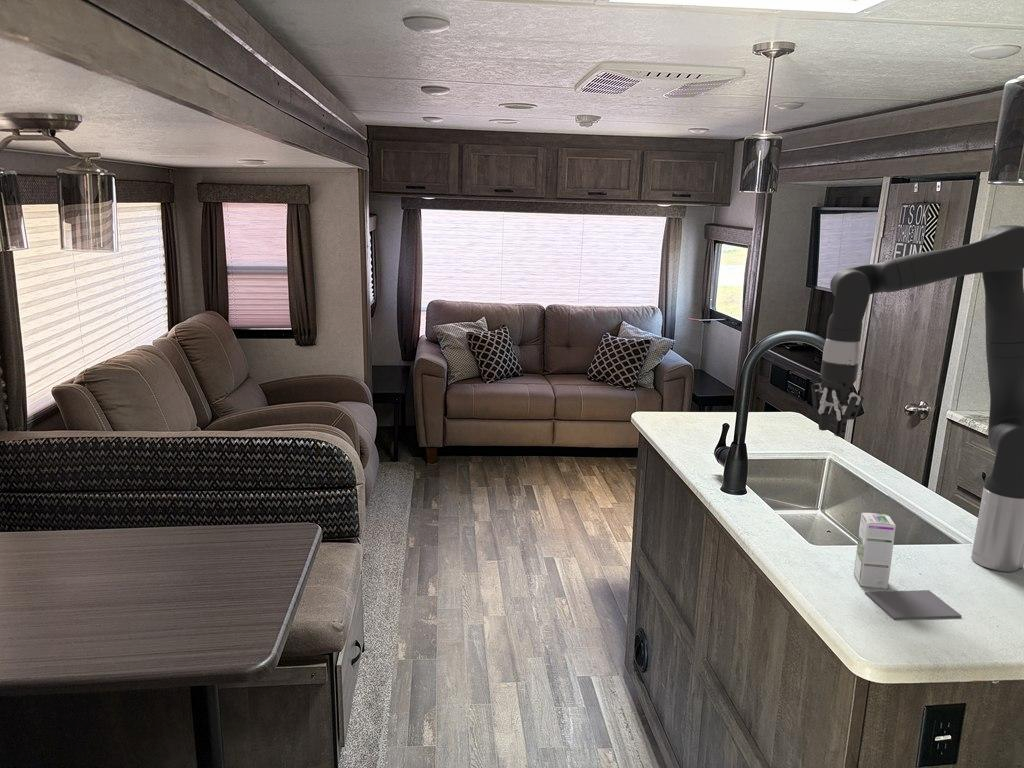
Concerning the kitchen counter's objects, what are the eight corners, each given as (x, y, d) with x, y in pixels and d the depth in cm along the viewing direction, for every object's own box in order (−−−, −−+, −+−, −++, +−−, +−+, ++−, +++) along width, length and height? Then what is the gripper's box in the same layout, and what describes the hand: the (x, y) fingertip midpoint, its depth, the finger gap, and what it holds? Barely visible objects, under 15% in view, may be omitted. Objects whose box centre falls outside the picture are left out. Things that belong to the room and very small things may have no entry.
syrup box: (888, 589, 158) (898, 524, 155) (858, 586, 159) (867, 521, 156) (881, 577, 163) (890, 514, 160) (852, 573, 165) (860, 511, 161)
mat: (928, 591, 157) (929, 590, 157) (961, 617, 148) (961, 615, 148) (865, 593, 156) (865, 591, 156) (893, 619, 146) (893, 617, 146)
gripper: (804, 354, 174) (796, 425, 178) (851, 366, 162) (841, 443, 165) (830, 352, 177) (821, 423, 181) (878, 365, 164) (868, 440, 168)
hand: (831, 432), depth 173 cm, fingers open, 4 cm apart
